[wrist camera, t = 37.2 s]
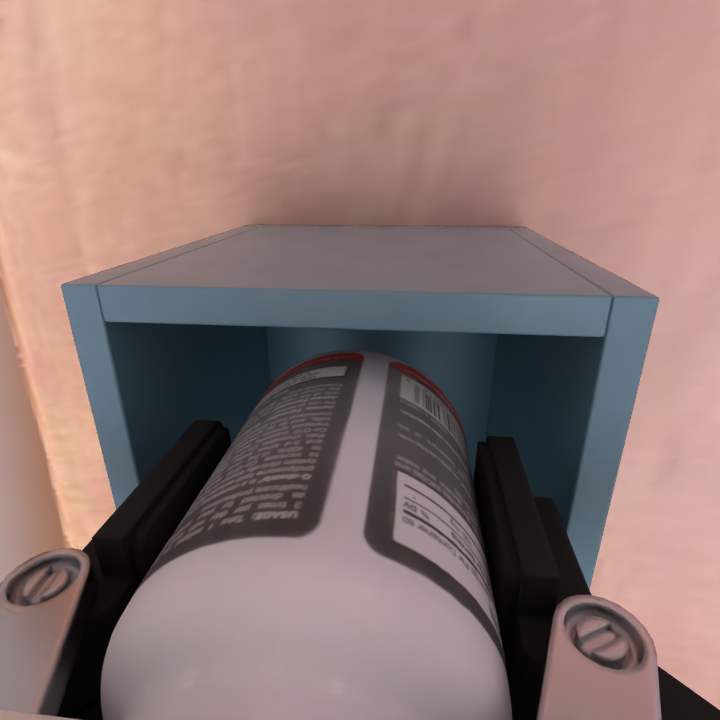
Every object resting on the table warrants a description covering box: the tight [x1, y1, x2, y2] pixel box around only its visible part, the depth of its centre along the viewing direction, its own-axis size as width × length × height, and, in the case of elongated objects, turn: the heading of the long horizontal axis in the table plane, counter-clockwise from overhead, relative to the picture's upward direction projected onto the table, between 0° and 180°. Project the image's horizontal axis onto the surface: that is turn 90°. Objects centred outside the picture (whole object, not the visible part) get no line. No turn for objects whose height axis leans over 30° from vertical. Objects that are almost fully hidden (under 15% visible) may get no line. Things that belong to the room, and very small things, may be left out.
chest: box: [61, 225, 659, 589], centre depth 17 cm, size 16×12×11 cm
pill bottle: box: [100, 350, 512, 720], centre depth 8 cm, size 6×6×10 cm
